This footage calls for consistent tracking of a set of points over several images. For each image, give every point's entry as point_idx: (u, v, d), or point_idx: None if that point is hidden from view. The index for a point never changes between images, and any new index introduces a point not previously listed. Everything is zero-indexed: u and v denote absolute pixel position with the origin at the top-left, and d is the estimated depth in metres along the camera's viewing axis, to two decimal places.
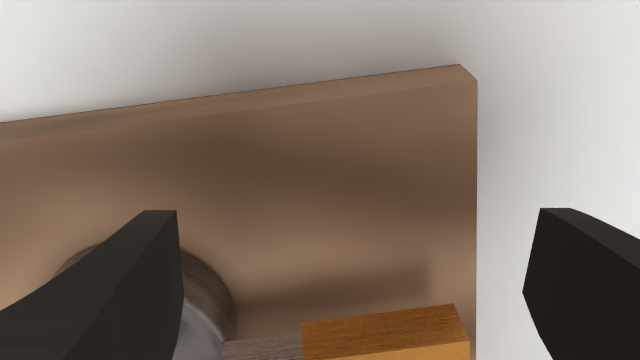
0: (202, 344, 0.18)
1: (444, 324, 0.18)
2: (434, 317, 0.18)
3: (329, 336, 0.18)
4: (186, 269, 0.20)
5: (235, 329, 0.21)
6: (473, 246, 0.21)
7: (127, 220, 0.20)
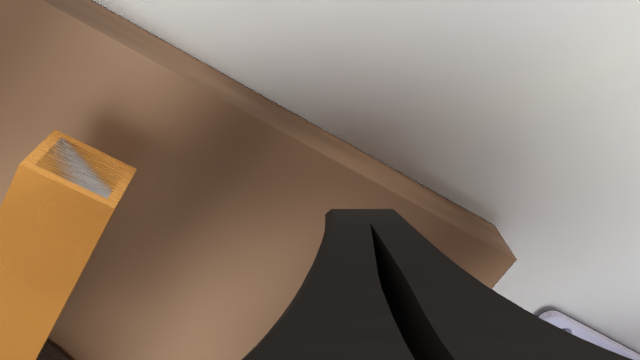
0: None
1: None
2: None
3: None
4: None
5: None
6: (98, 35, 0.14)
7: None
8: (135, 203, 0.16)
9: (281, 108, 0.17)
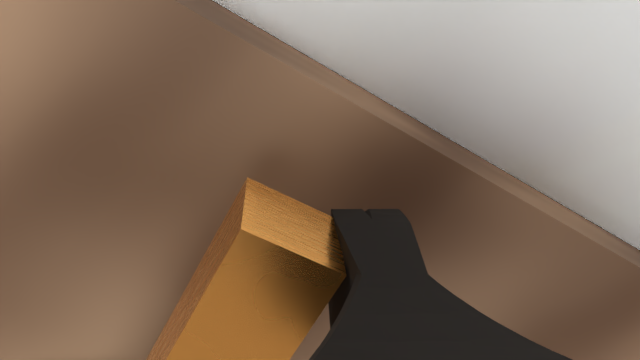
0: None
1: (229, 229, 0.09)
2: (225, 227, 0.10)
3: None
4: None
5: None
6: (285, 69, 0.12)
7: None
8: None
9: (453, 143, 0.15)
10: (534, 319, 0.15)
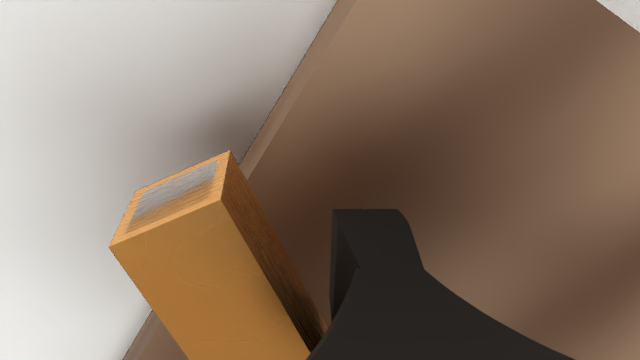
0: None
1: None
2: None
3: None
4: None
5: None
6: None
7: None
8: (628, 239, 0.14)
9: None
10: None
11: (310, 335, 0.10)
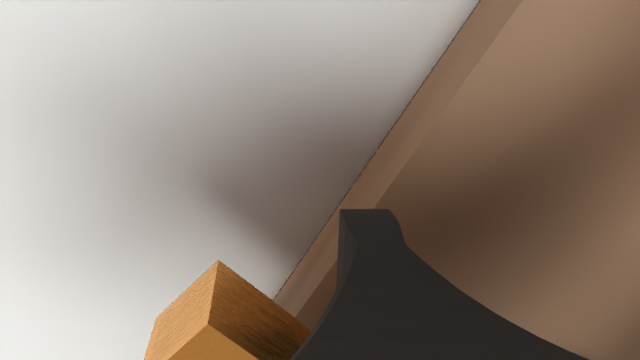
0: None
1: None
2: None
3: None
4: None
5: None
6: None
7: None
8: None
9: None
10: None
11: None
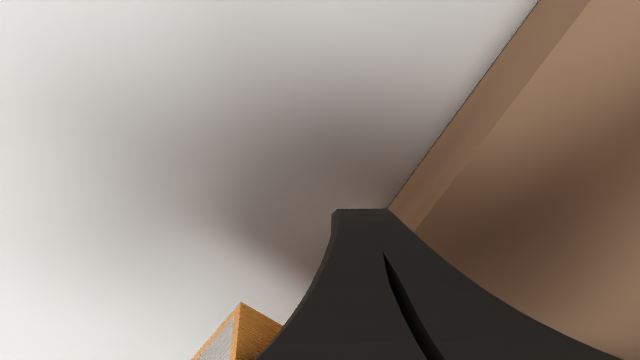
0: None
1: None
2: None
3: None
4: None
5: None
6: None
7: None
8: None
9: None
10: None
11: None
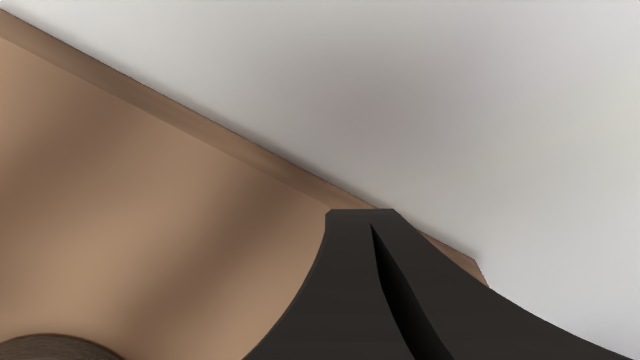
0: None
1: None
2: None
3: None
4: None
5: None
6: (169, 127, 0.18)
7: None
8: (191, 249, 0.20)
9: (304, 171, 0.21)
10: None
11: None
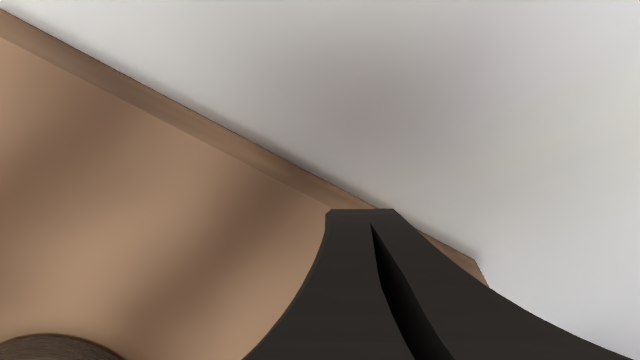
0: None
1: None
2: None
3: None
4: None
5: None
6: (169, 127, 0.18)
7: None
8: (191, 249, 0.20)
9: (304, 171, 0.21)
10: None
11: None
